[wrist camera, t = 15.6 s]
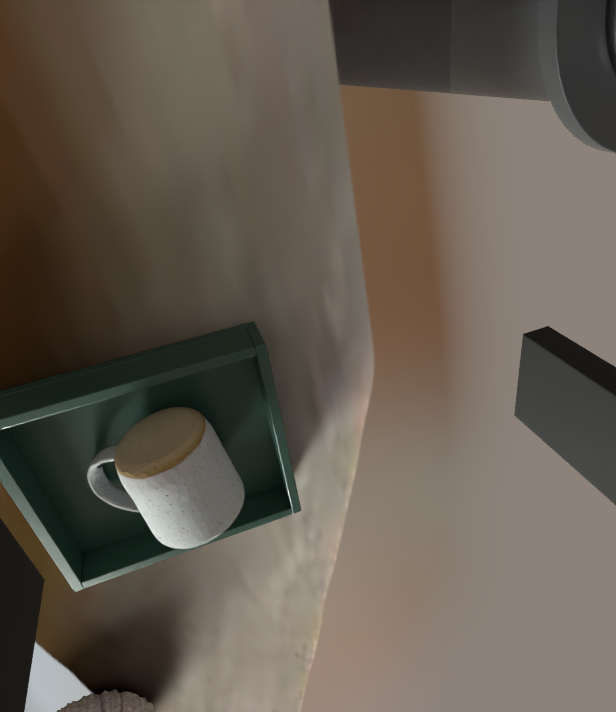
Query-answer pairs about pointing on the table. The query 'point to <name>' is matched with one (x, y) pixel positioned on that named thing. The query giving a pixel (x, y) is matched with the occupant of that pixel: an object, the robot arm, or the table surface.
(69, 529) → the tray
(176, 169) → the table surface
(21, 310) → the table surface
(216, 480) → the ceramic mug
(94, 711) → the sea urchin shell
